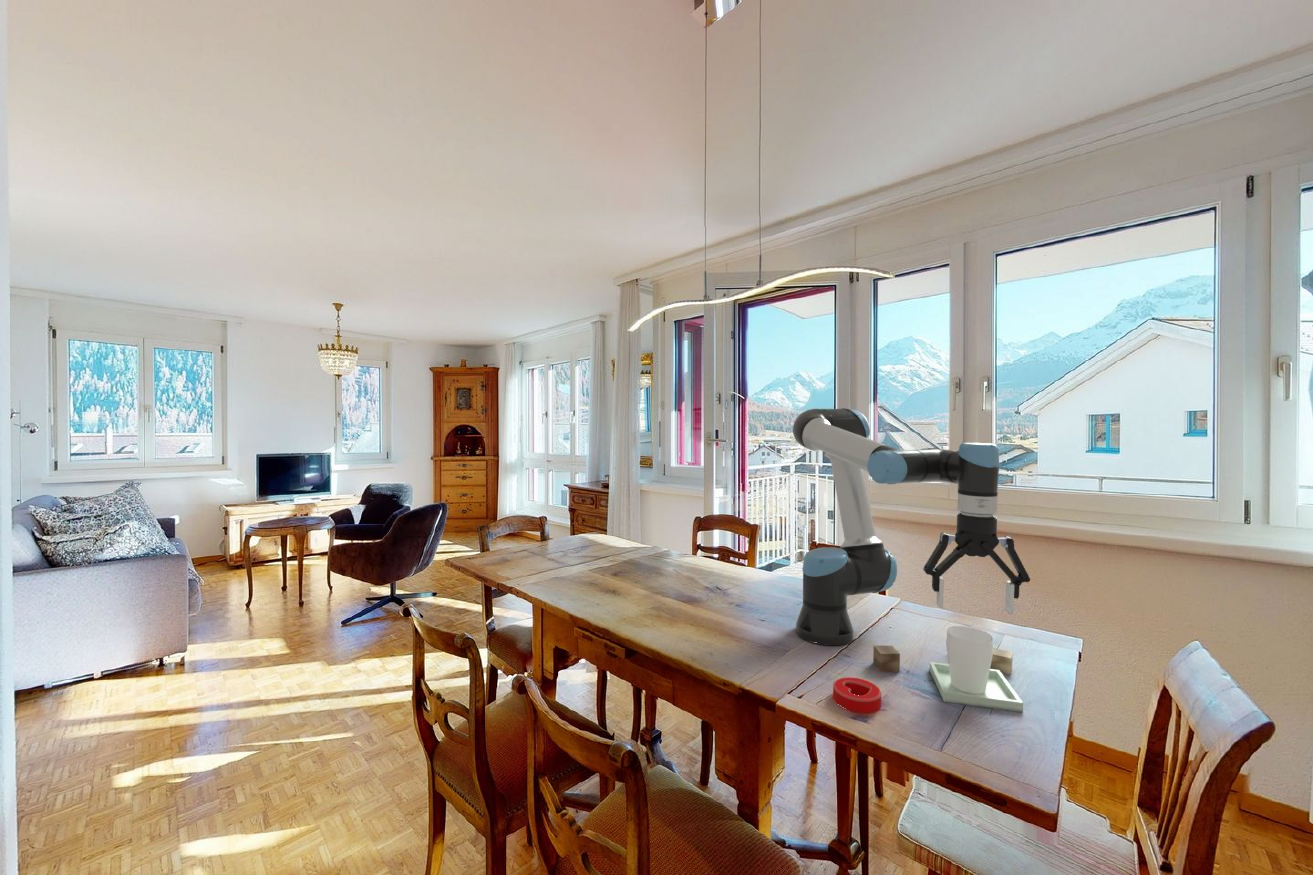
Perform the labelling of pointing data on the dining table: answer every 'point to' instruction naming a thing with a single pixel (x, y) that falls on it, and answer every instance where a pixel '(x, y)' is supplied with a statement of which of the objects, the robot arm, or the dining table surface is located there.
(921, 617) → the dining table surface
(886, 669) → the walnut block
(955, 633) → the cup
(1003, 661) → the oak block
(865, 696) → the decorative ornament
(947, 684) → the tray
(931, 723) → the dining table surface
